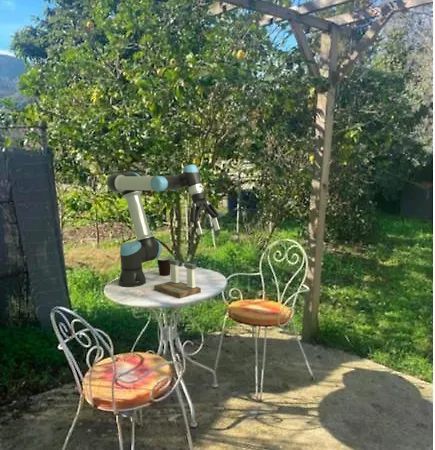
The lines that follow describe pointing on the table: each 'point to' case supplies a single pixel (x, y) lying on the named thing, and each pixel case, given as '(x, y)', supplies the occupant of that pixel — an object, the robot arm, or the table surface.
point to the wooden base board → (176, 289)
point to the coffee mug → (164, 266)
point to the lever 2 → (190, 275)
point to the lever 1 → (174, 270)
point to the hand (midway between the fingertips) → (209, 232)
